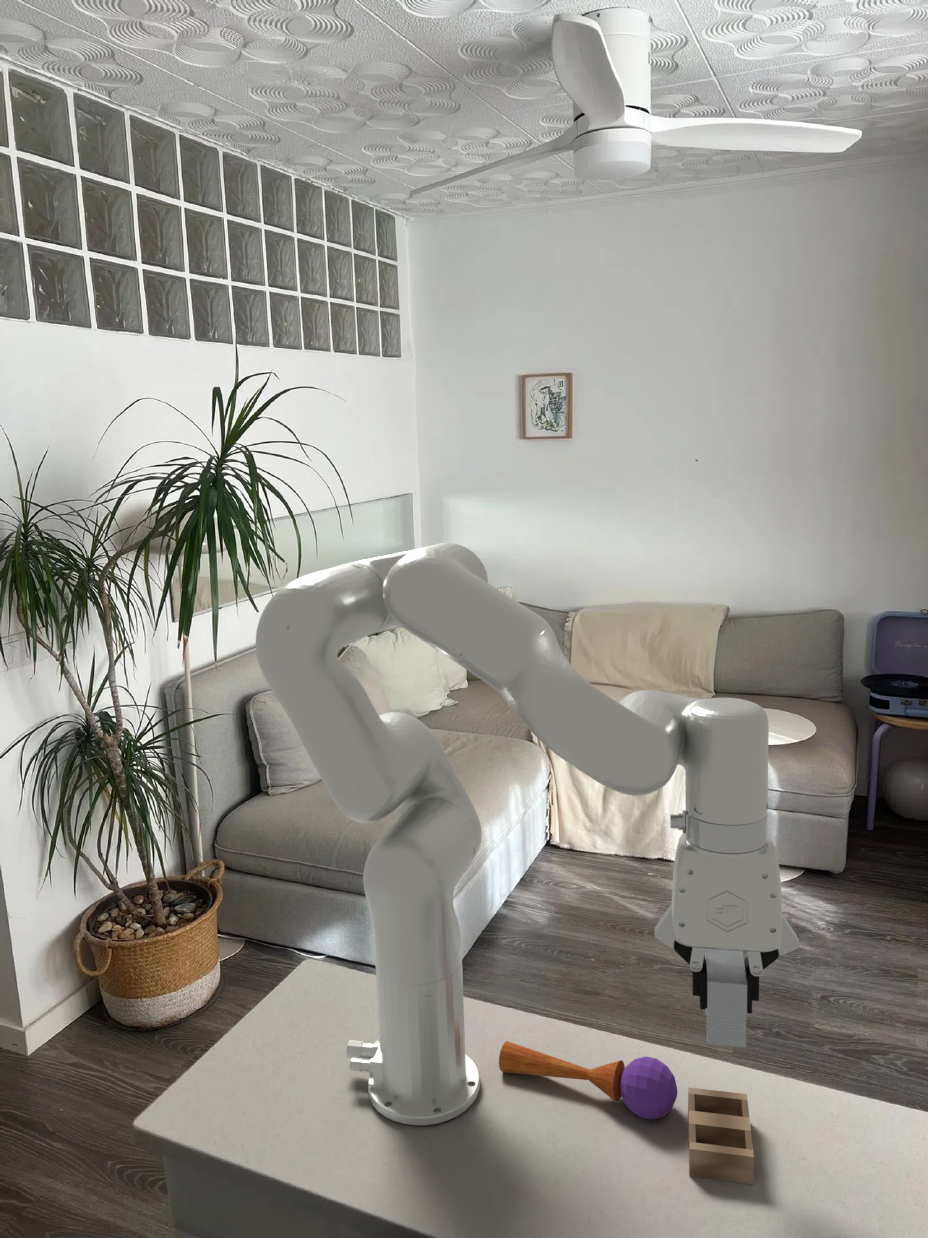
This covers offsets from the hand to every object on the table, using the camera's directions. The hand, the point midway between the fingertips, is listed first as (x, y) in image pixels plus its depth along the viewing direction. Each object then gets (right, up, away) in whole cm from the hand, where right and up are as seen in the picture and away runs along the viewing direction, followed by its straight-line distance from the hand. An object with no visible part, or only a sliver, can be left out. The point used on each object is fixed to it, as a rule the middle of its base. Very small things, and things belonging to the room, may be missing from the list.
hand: (725, 1002), depth 92 cm
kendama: (-12, -15, +12) cm, 23 cm away
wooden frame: (0, -16, +3) cm, 16 cm away
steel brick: (0, -3, 0) cm, 3 cm away
